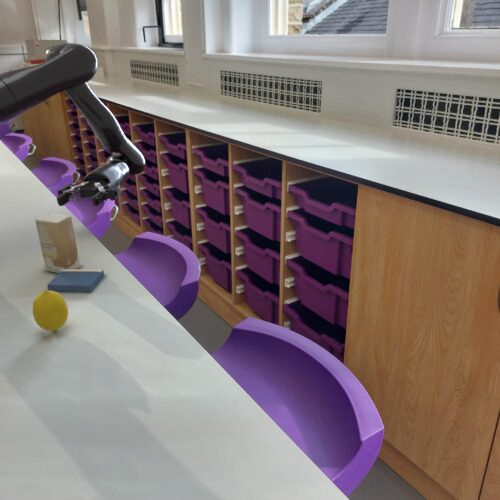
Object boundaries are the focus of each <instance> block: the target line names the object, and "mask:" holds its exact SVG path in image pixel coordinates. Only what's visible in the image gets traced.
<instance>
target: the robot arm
mask: <svg viewBox="0 0 500 500" xmlns="http://www.w3.org/2000/svg"><path fill="white" fill-rule="evenodd" d="M98 64H99V63H98V58H97V56H96V54H95V52H93V50H92V49H90V48H89V47H88V46H86V45H84V44H81V43H75V42H57V43H54V44H52V45H50V46H49V47H48V49H47V50H46V53H45V60H44V61H43V62H41V63H38V64H34V65H30V66H25V67H20V68H16V69H11V70H7V71H4V72H1V73H0V125H2V124H4V123H6V122H9V121H10V120H12V119H14V118H16V117H18V116H20V115H22V114H23V113H25V112H27V111H28V110H31V109H32V108H34V107H36V106H38V105H40V104H41V103H43V102H45V101H47V100H48V99H50V98H52V97H54V96H56V95H57V94H60V93H62V92H65V94H66V95H67V96H68V97H69V99H70V100H71V101H72V102H73V103H74V105H75V107H76V108H77V109H78V111H79V112H80V113H81V114H82V116H83V117H84V119H85V120H86V122H87V124H88V126H90V128H91V130H92V131H93V133H94V135H95V137H96V138H97V140H98V142H99V143H100V146H101V147H102V148H103V150H105V152H107V153H114V154H112V155H110V156H108V158H107V160H106V162H105V163H104V164H102V165H99V166H98V167H96V168H94V169H93V170H92V171H90V172H89V173H88V174H86V175H85V177H84V179H83V181H82V182H81V183H80V184H76V185H73V183H67V184H65V185H64V186H62V187H60V188H59V189H57V190H56V192H57V197H56V202H57V205H58V206H59V207H64V206H65V205H66V204H67V203H69V202H70V201H76V202H79V201H81V200H85V199H88V200H89V199H91V201H92V205H93V207H98V206H99V205H100V204H101V205H102V203H103V202H107V201H108V200H110V201H116V199H118V197H120V196H121V195H122V188H121V186H122V185H123V184H125V182H127V180H128V179H129V177H131V176H136V175H140V174H142V173H144V171H145V170H146V167H147V162H146V159H145V156H144V155H143V153H142V151H140V150H139V148H137V146H136V145H135V144H133V142H132V141H131V140H130V139H129V138H128V137H127V135H125V132H124V130H123V129H122V127H121V124H120V123H119V121H118V120H117V118H116V117H115V115H114V114H113V113H112V111H111V110H110V109H109V107H108V106H106V105H105V103H103V102H102V101H101V99H100V98H99V97H98V96H97V95H96V93H94V91H93V90H92V89H91V87H90V86H89V83H88V82H90V81H91V80H92V79H93V78H94V76H95V75H96V73H97V71H98V66H99V65H98Z"/></svg>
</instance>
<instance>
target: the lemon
mask: <svg viewBox="0 0 500 500" xmlns="http://www.w3.org/2000/svg"><path fill="white" fill-rule="evenodd" d="M32 316H33V319H34V321H35V323H36V324H37V326H39V327H40V328H41V329H42V330H45V331H52V332H57V331H58V330H59V329H60V328H62V327H63V326H65V324H66V322H67V320H68V317H69V307H68V305H67V302H66V300H65V298H64V297H63V296H62V294H60V293H59V292H58V291H49V290H48V289H45V290H43V291H41V292H40V293H39V294H38V295H37V296H35V298H34V300H33V302H32Z"/></svg>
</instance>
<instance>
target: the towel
mask: <svg viewBox="0 0 500 500" xmlns="http://www.w3.org/2000/svg"><path fill="white" fill-rule="evenodd" d="M104 277H105V272H104V269H85V268H84V269H79V268H77V269H61V270H60V273H57V275H56V276H54V277H53V278H52V279H51V281H49V282H48V283H47V285H46V286H47V290H48V291H55V292H61V293H62V292H68V293H70V292H71V293H92V292H93V290H95V288H96V287H97V285H98V284H99V283H100V282H101V280H102V279H103V278H104Z"/></svg>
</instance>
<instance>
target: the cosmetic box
mask: <svg viewBox="0 0 500 500" xmlns="http://www.w3.org/2000/svg"><path fill="white" fill-rule="evenodd" d="M34 222H35V225H36V231H37V235H38V240H39V245H40V249H41V254H42V260H43V262H44V268H45V271H46V272H52V273H57V274H59V273H60V270H61V269H79V268H80V267H81V263H80V257H79V252H78V246H77V241H76V236H75V230H74V224H73V219H72V216H71V215H66V214H60V213H50V212H48V213H46V214H43V215H42V216H39V217H38V218H35V220H34Z"/></svg>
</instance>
